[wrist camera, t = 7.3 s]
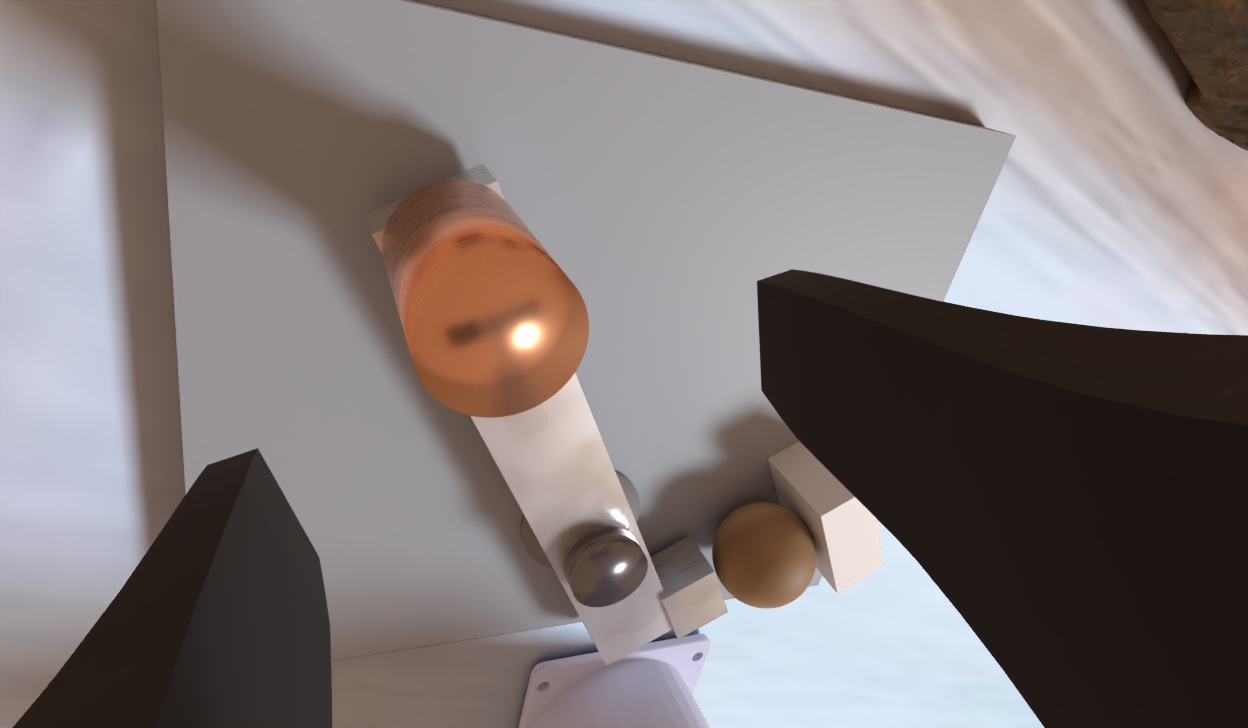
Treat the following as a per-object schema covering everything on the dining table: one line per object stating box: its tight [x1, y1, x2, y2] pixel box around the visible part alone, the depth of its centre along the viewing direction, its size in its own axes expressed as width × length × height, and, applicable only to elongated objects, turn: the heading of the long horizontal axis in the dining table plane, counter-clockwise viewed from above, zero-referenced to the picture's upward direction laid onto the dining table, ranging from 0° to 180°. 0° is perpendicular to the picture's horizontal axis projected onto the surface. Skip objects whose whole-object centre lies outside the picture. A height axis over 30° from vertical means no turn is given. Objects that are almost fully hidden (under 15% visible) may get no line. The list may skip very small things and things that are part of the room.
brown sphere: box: [712, 502, 816, 608], centre depth 25 cm, size 4×4×4 cm
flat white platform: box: [156, 0, 1016, 661], centre depth 21 cm, size 19×23×4 cm
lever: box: [366, 164, 728, 666], centre depth 19 cm, size 18×5×6 cm, turn 17°
